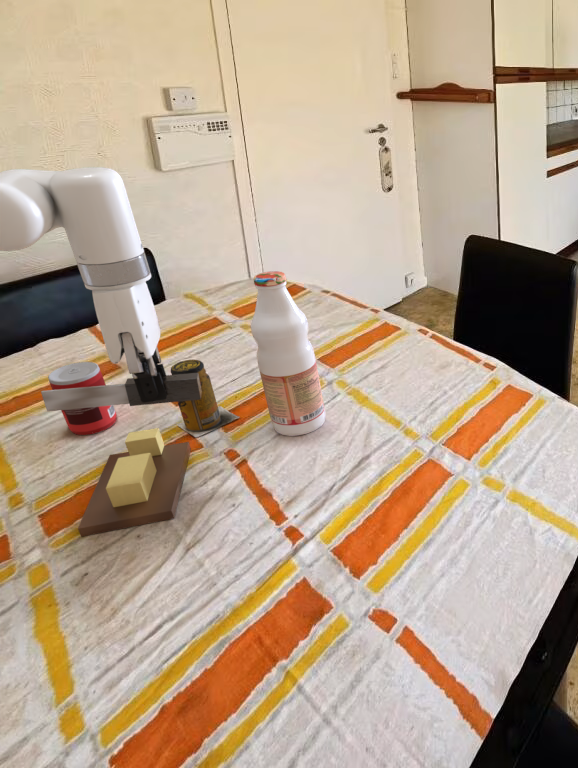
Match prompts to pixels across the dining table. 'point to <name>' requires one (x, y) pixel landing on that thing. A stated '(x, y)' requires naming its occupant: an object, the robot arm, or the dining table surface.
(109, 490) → the butter stick
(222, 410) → the condiment
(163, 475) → the board
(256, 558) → the dining table surface
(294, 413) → the fruit juice
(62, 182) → the robot arm
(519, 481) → the dining table surface
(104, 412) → the canned food
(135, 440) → the butter slice
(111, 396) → the knife
